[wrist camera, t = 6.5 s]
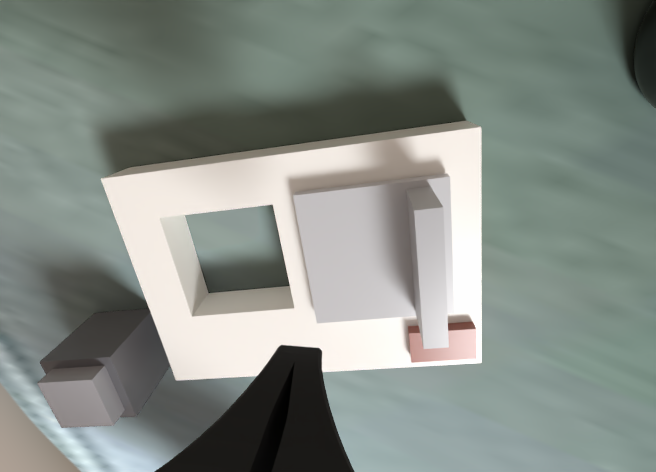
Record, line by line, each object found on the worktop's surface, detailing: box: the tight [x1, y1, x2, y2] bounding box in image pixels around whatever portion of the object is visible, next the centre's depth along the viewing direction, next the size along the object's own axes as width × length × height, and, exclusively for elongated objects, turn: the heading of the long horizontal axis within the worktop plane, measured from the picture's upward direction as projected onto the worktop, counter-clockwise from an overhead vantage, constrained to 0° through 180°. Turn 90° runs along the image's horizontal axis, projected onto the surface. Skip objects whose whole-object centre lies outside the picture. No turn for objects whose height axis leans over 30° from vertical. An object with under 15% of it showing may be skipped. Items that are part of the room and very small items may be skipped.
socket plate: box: [101, 121, 481, 381], centre depth 20 cm, size 12×17×3 cm
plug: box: [37, 308, 170, 428], centre depth 22 cm, size 4×4×6 cm
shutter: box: [293, 173, 454, 349], centre depth 16 cm, size 7×7×3 cm
